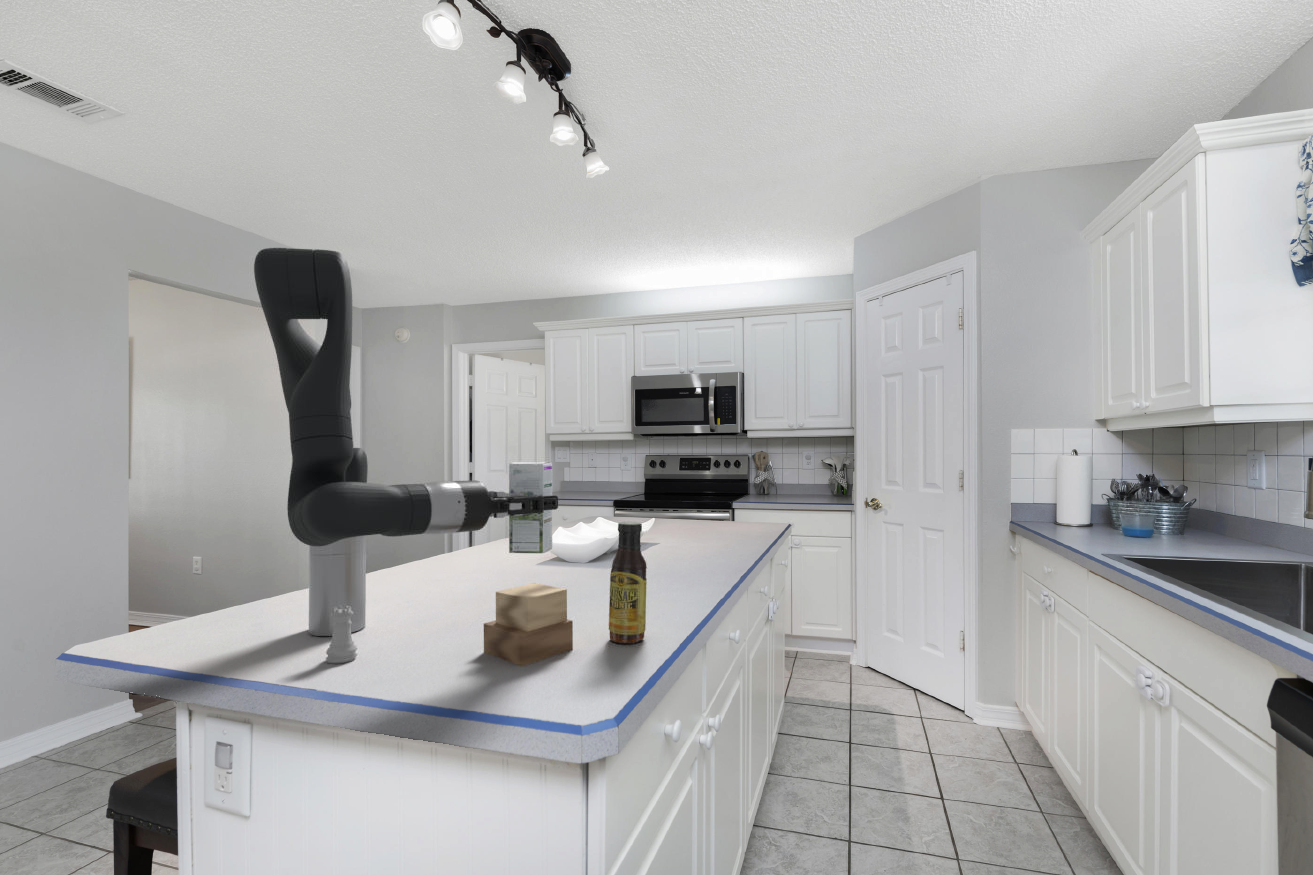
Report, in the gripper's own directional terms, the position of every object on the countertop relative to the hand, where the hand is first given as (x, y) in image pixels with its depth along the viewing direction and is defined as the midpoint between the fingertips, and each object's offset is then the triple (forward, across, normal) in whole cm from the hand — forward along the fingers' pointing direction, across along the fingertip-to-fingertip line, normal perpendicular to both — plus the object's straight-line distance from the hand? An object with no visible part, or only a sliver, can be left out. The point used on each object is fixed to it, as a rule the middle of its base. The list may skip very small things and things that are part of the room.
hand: (540, 501), depth 100 cm
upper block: (-2, 0, +19) cm, 19 cm away
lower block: (-2, 0, +24) cm, 24 cm away
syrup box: (-2, 0, +8) cm, 8 cm away
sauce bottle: (+12, -8, +24) cm, 28 cm away
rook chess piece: (-24, +19, +24) cm, 39 cm away
